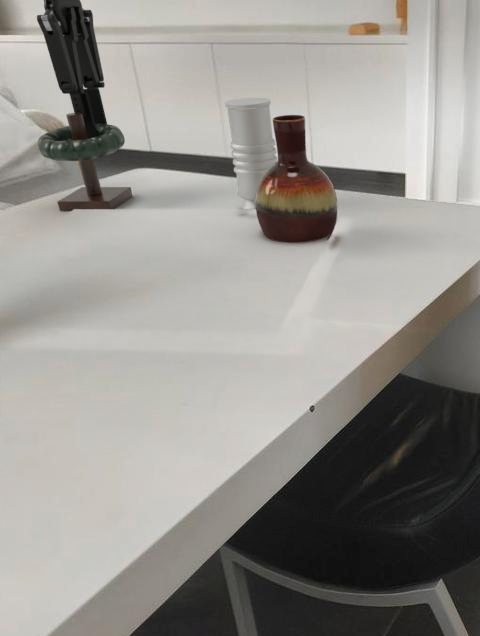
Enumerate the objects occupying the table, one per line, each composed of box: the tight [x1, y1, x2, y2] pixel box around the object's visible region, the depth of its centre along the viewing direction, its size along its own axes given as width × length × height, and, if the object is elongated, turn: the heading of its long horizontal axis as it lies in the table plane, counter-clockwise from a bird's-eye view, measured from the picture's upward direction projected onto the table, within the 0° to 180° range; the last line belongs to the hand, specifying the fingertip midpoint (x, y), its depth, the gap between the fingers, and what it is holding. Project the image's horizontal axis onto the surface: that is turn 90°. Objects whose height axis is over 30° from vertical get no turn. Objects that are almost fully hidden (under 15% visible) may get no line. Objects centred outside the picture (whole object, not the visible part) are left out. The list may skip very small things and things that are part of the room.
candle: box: [224, 97, 278, 210], centre depth 106 cm, size 7×7×15 cm
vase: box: [255, 114, 338, 243], centre depth 91 cm, size 11×11×15 cm
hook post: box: [56, 112, 133, 212], centre depth 112 cm, size 9×9×14 cm
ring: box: [37, 123, 126, 162], centre depth 110 cm, size 13×13×3 cm
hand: (95, 135), depth 114 cm, fingers open, 3 cm apart
